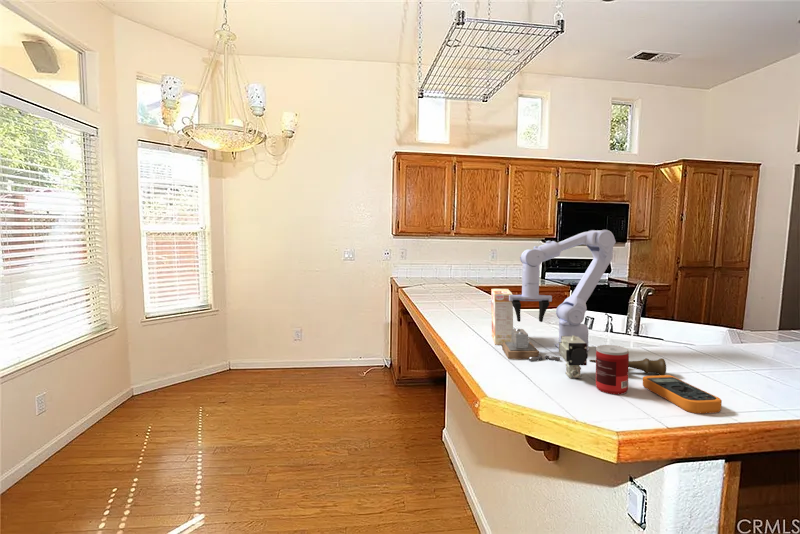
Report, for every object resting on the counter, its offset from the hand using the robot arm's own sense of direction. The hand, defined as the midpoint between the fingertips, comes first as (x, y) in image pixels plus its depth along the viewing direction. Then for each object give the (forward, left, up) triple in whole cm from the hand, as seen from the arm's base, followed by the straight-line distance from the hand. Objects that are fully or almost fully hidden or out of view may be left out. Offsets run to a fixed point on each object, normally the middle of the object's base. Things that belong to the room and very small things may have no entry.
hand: (529, 321), depth 148 cm
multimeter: (-26, +44, -11) cm, 52 cm away
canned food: (-13, +38, -11) cm, 41 cm away
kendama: (-22, +24, -11) cm, 35 cm away
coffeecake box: (+7, -14, -11) cm, 19 cm away
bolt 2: (-5, +12, -11) cm, 17 cm away
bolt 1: (+1, +12, -11) cm, 16 cm away
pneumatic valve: (-6, +28, -11) cm, 30 cm away
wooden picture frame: (+4, +5, -10) cm, 12 cm away
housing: (+4, +5, -8) cm, 10 cm away
